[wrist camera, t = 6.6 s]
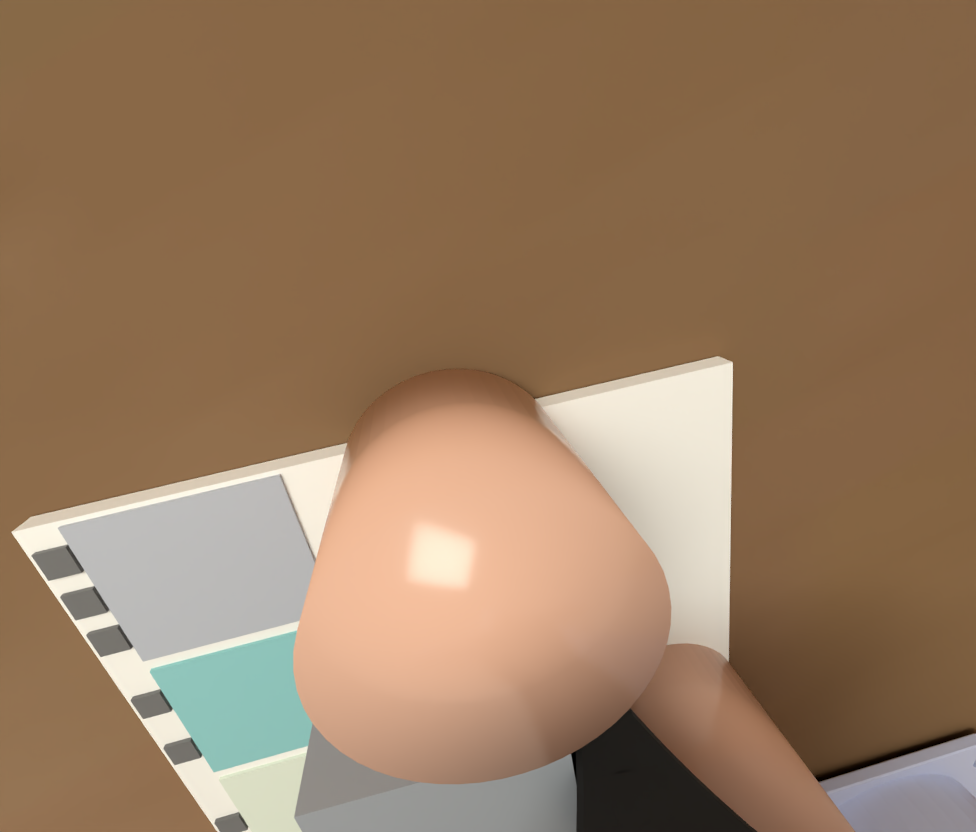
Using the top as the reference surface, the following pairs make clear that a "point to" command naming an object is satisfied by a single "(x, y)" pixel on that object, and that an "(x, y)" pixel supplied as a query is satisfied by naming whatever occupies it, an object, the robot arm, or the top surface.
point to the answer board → (290, 562)
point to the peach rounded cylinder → (733, 743)
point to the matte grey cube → (429, 799)
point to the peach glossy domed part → (473, 590)
